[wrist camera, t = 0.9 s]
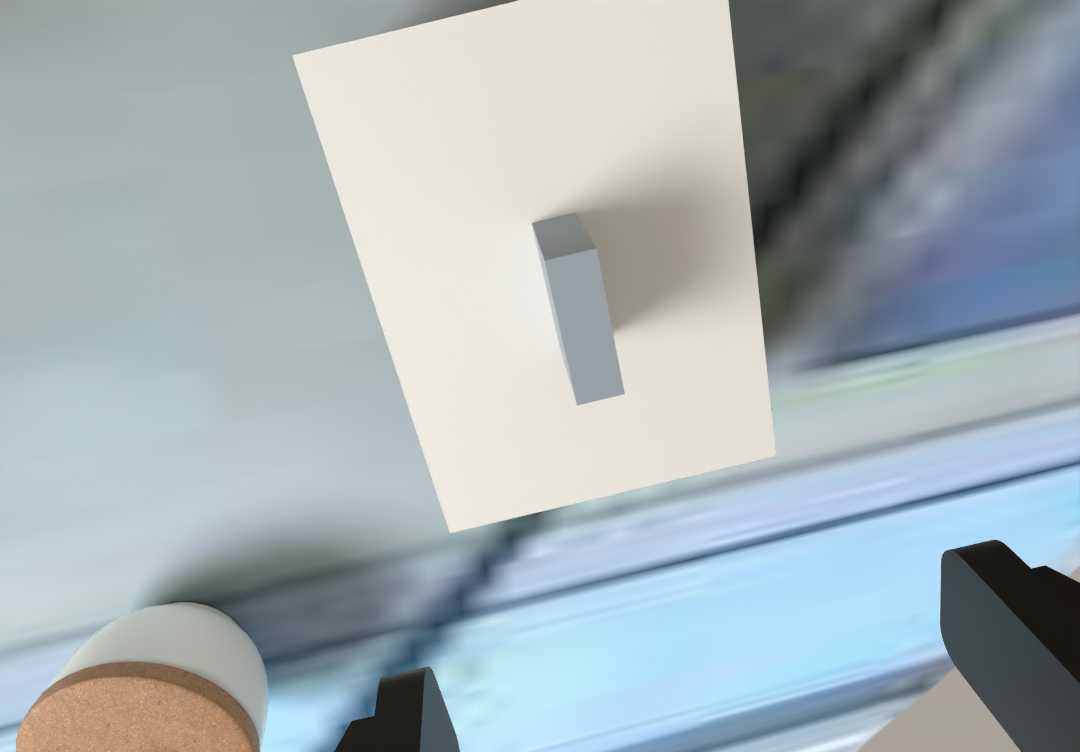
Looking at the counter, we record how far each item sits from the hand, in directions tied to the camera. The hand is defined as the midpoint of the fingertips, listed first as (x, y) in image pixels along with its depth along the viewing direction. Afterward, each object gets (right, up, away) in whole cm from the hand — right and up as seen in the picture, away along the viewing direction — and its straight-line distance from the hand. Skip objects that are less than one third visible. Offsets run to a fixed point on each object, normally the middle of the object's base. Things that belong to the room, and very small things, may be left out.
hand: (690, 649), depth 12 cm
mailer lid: (-2, +9, +19) cm, 21 cm away
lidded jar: (-22, -11, +31) cm, 40 cm away
